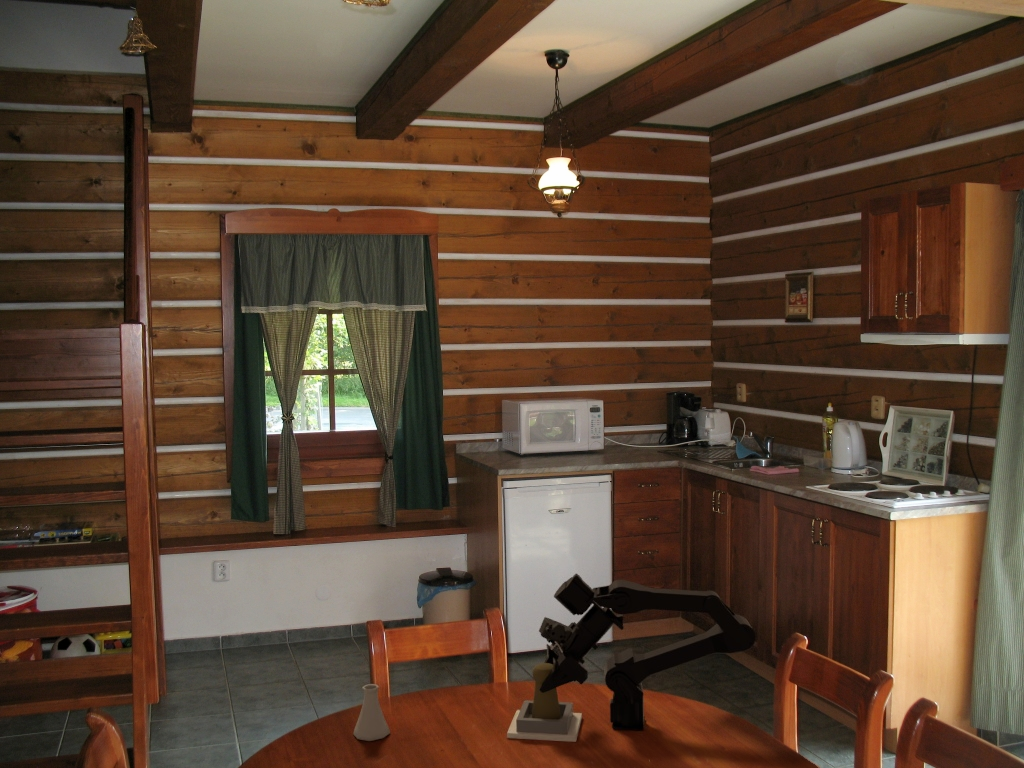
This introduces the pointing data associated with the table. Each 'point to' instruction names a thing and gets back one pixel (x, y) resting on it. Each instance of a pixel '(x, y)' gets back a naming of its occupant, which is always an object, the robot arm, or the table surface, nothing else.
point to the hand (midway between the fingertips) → (538, 686)
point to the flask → (371, 717)
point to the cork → (544, 695)
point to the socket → (545, 724)
